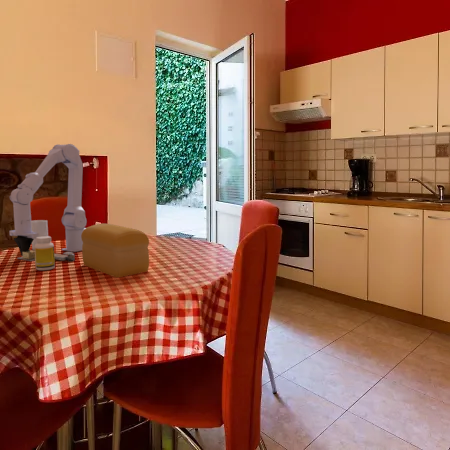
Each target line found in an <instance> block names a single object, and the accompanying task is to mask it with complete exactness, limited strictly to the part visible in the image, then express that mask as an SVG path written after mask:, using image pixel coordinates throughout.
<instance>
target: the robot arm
mask: <svg viewBox="0 0 450 450" xmlns="http://www.w3.org/2000/svg"><path fill="white" fill-rule="evenodd" d="M59 163H62V164H64V166H66V168H68V181H67V204H66V205H67V206H66V207H65V208H64V209H63V210H64V211H63V215H62V217H61V223H62V225H63V226H64V229H65V247H66V248H61V251H65V252H73V253H77V252H80V251H82V245H83V242H82V239H81V234H82V232H83V230H85V229H86V228H87V227H86V226H87V222H88V221H87V218H86V211H85V210H84V208H83V207H82V201H83V200H82V197H83V194H82V193H83V175H84V174H83V170H84V169H83V168H84V167H83V161H82V159H81V156H80V149H78V147H77V146H76V145H75V144H72V143H67V144H66V143H65V144H58V143H57V144H55V145H54V146H53V147H52V148H51V149H50V150H49V151H48V153H47V155H46V156H45V158H44V159H43V160H42V162H41V163H40V164H39V166H38V167H37V169H36V170H35V171H34V172H29V173H26V175H24V177H25V178H24V180H23V181H22V182H21V183H20V184H18V185H17V188H16V189H13V190H12V191H11V192H10V196H8V197H9V200H10V201H11V202H12V204H13V222H14V229H13V230H9V236H11V237H12V236H14V237H15V238H13V241H14V242H15V243H16V245H17V247H18V249H19V252H20V255H21V257H23V252H24V251H29V250H31V247H32V242H33V240H34V239H36V238H37V237H38V233H35V232H33V231H32V225H31V221H32V214H31V213H32V211H31V202H33V200H34V194H35V193H36V192H37V191H38V190H39V189H40V187H41V186H42V185H43V183H44V177H45V176H46V175H47V174H48V173H49V172H50V171H51V170H52V168H54V166H56V164H59Z"/></svg>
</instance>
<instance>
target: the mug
mask: <svg viewBox="0 0 450 450" xmlns="http://www.w3.org/2000/svg"><path fill="white" fill-rule="evenodd" d="M31 225H32V231H33V232H35V233H38V237H41V236H49V227H48V220H47V219H46V220H45V219H37V220H36V219H35V220H31ZM35 244H37V242H36V239H34V240H33V242H32V244H31V250H33V251H34V246H35Z"/></svg>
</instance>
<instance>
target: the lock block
mask: <svg viewBox="0 0 450 450" xmlns="http://www.w3.org/2000/svg"><path fill="white" fill-rule="evenodd" d="M22 257H23V258H25V259H32V258H35V251H34V250H33V249H30V250H29V251H24V252H23V256H22Z"/></svg>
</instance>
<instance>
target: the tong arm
mask: <svg viewBox="0 0 450 450" xmlns="http://www.w3.org/2000/svg"><path fill="white" fill-rule="evenodd" d="M70 254H74V252H72V251H65V252H63V253H62V255H67V256H68V255H70ZM54 256H55V261H56V260H58V261H64V262H65V261H68V260H67V257H65V256H58V255H54Z"/></svg>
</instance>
